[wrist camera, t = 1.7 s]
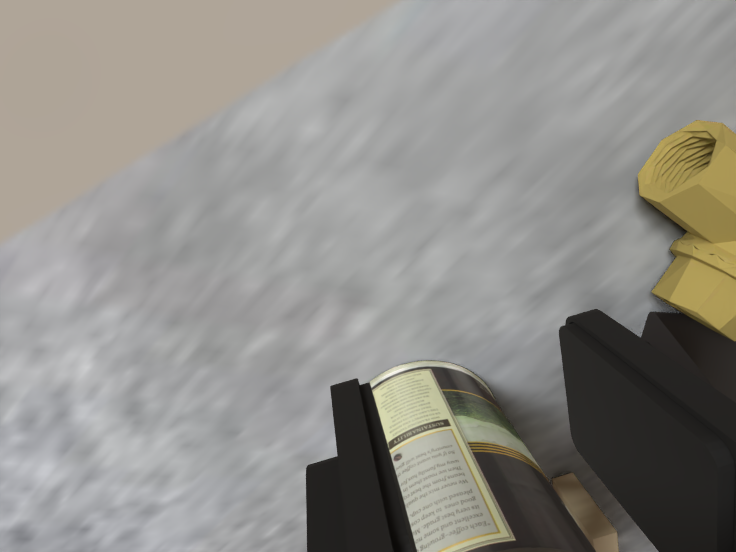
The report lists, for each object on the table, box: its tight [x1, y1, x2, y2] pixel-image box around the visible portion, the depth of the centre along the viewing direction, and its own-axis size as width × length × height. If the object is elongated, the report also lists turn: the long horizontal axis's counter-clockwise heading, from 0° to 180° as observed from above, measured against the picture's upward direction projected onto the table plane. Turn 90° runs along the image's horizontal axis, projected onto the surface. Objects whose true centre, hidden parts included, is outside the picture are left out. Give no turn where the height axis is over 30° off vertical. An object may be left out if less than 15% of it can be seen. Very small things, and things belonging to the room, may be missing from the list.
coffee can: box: [370, 360, 596, 552], centre depth 24 cm, size 10×10×14 cm
